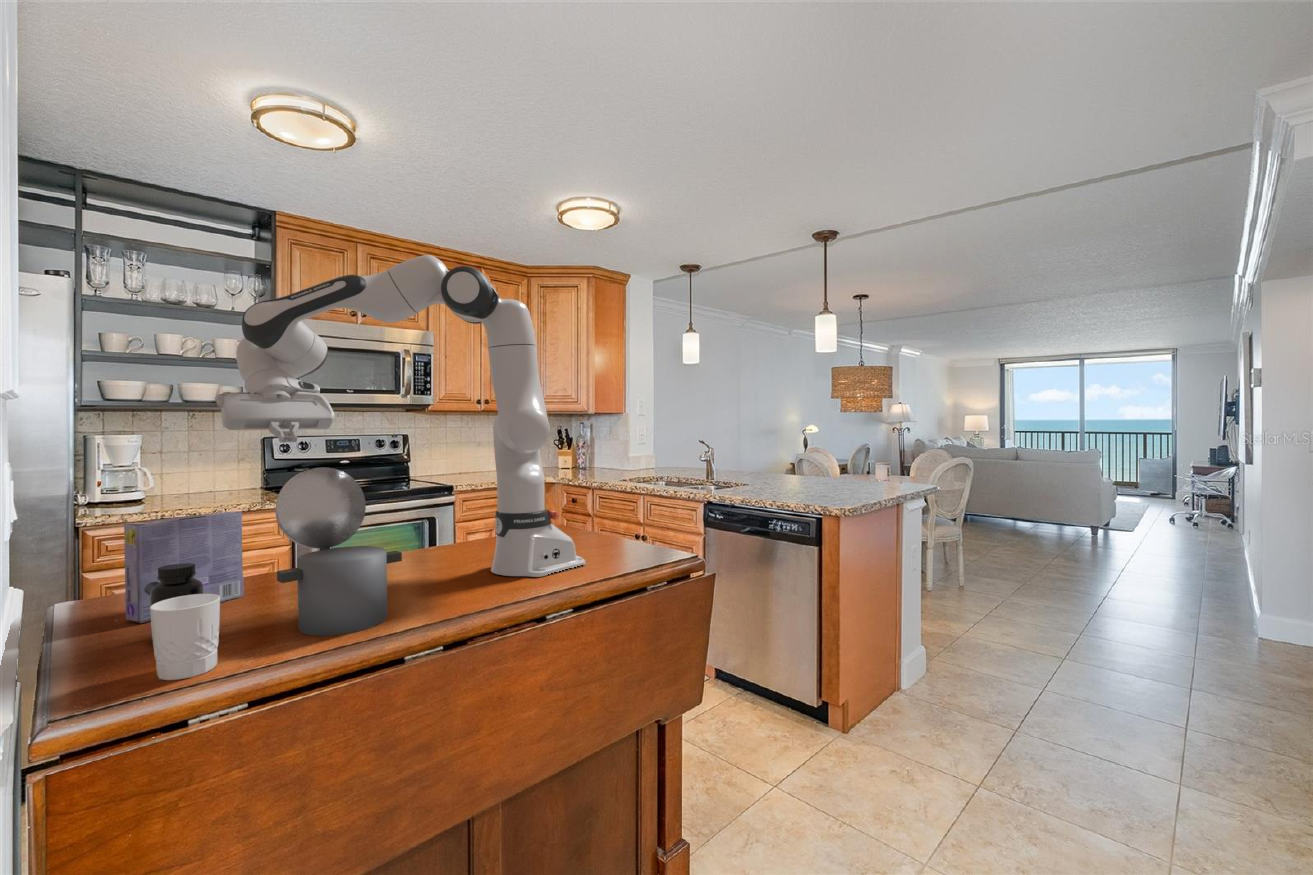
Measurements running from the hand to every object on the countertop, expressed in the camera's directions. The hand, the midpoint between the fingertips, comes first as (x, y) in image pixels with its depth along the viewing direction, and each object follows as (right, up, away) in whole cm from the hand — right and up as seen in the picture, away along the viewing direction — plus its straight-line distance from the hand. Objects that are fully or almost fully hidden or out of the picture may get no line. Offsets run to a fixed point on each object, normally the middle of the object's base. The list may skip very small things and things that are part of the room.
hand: (289, 440), depth 122 cm
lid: (+14, -12, -11) cm, 22 cm away
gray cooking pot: (+20, -32, -16) cm, 41 cm away
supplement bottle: (-3, -33, -24) cm, 41 cm away
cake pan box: (-14, -32, -8) cm, 36 cm away
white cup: (+8, -33, -37) cm, 50 cm away
